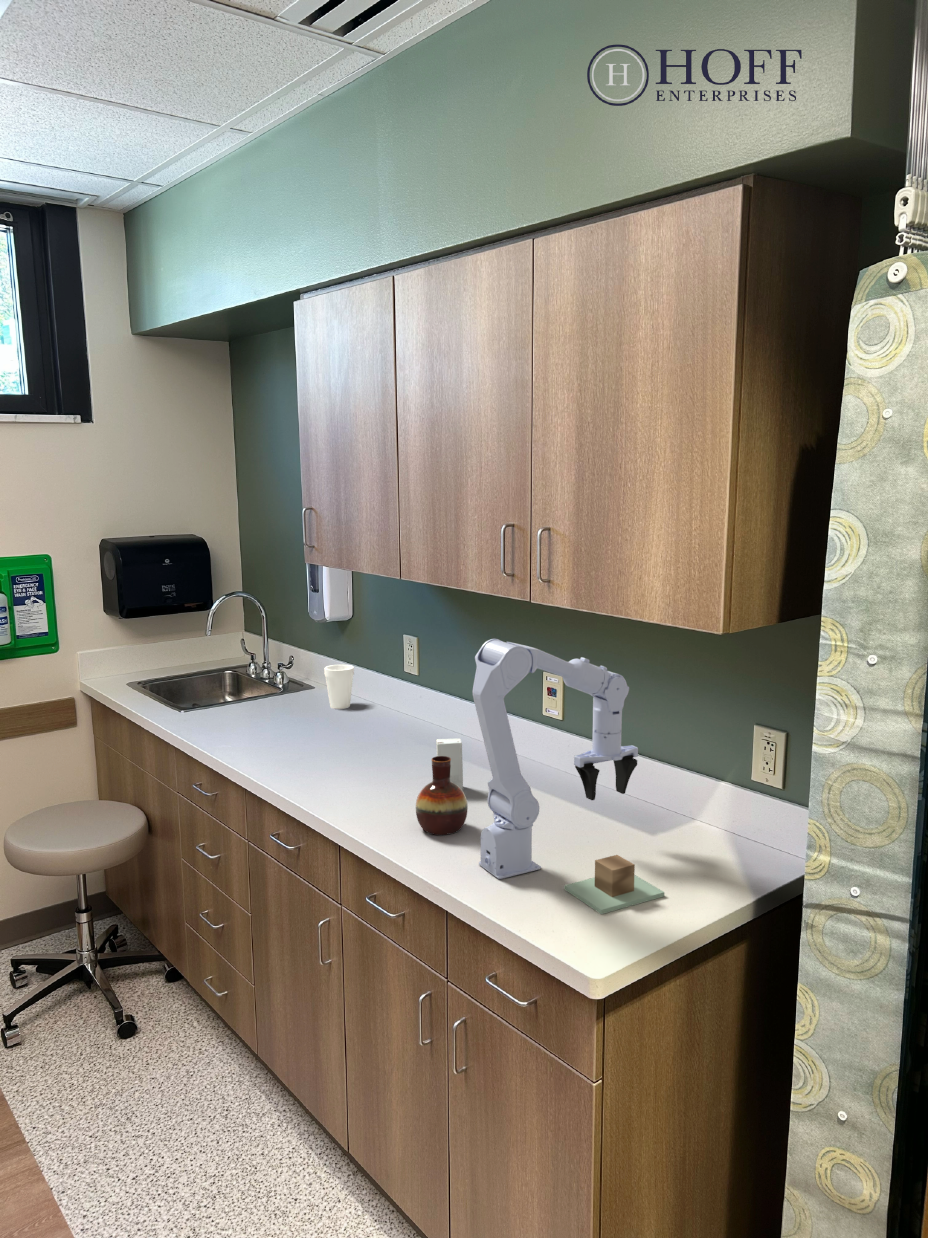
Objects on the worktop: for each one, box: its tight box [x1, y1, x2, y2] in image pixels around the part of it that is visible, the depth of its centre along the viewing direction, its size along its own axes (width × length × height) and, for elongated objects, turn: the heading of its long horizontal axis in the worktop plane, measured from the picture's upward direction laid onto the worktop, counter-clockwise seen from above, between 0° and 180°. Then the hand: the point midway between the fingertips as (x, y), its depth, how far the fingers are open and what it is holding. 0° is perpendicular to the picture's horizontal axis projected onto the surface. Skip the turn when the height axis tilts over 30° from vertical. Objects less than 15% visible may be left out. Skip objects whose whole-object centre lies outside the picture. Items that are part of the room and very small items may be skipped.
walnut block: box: [594, 854, 636, 897], centre depth 166 cm, size 5×5×5 cm
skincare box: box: [435, 738, 464, 792], centre depth 221 cm, size 6×4×12 cm
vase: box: [415, 755, 469, 836], centre depth 196 cm, size 11×11×15 cm
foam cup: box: [323, 664, 355, 710], centre depth 300 cm, size 10×9×13 cm
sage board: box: [563, 873, 665, 915], centre depth 166 cm, size 14×11×1 cm
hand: (605, 795), depth 186 cm, fingers open, 7 cm apart
